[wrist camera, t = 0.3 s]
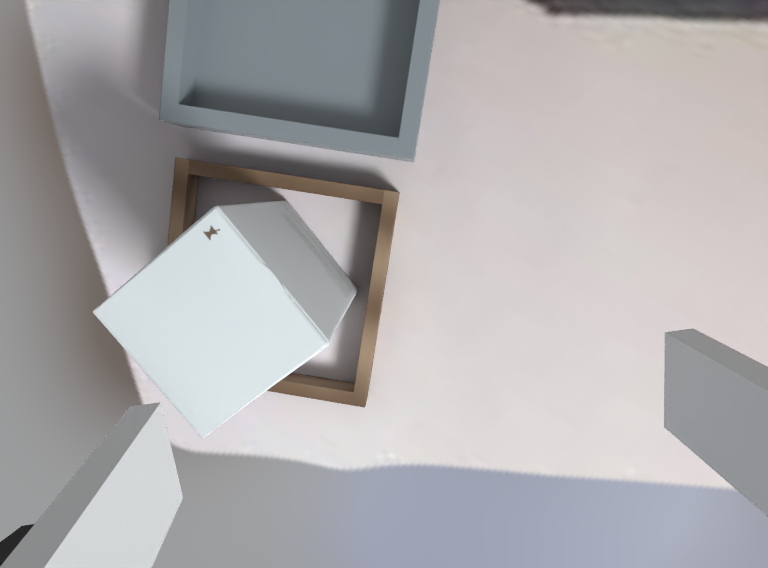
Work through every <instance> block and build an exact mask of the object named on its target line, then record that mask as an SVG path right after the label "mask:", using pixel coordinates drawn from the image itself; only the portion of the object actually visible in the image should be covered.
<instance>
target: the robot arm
mask: <svg viewBox="0 0 768 568" xmlns="http://www.w3.org/2000/svg"><path fill="white" fill-rule="evenodd" d="M664 427H665V428H666V429H667V430H668V431H669V432H671V433H672V434H673V435H674V436H675V437H676V438H677V439H679V440H680V441H681V442H682V443H683V444H684V445H686V446H687V447H688V448H689V449H690V450H691V451H693V452H694V453H695V454H696V455H697V456H698V457H699V458H701V459H702V460H703V461H704V462H705V463H706V464H708V465H709V466H710V467H711V468H712V469H713V470H714V471H716V472H717V473H718V474H719V475H720V476H721V477H723V478H724V479H725V480H726V481H727V482H728V483H730V484H731V485H732V486H733V487H734V488H735V489H736V490H738V491H739V492H740V493H741V494H742V495H744V496H745V497H746V498H747V499H748V500H749V501H750V502H752V503H753V504H754V505H755V506H756V507H757V508H758V509H760V510H761V511H762V512H763V513H764V514H766V515H767V516H768V367H767V366H765V365H763V364H761V363H759V362H757V361H755V360H753V359H751V358H749V357H747V356H745V355H744V354H742V353H740V352H738V351H736V350H734V349H732V348H730V347H728V346H726V345H724V344H722V343H720V342H718V341H716V340H714V339H712V338H710V337H709V336H707V335H705V334H703V333H701V332H699V331H697V330H695V329H686V330H679V331H672V332H665V382H664ZM182 498H183V496H182V491H181V487H180V483H179V478H178V474H177V470H176V466H175V462H174V458H173V453H172V449H171V444H170V440H169V436H168V432H167V427H166V423H165V419H164V414H163V410H162V406H161V402H160V403H153V404H146V405H139V406H132V407H129V409H128V410H127V411H126V412H125V413H124V415H123V416H122V417H121V419H120V420H119V421H118V422H117V423H116V425H115V426H114V427H113V428H112V430H111V431H110V432H109V433H108V434H107V436H106V437H105V438H104V440H103V441H102V442H101V443H100V444H99V445H98V447H97V448H96V449H95V450H94V452H93V453H92V454H91V455H90V457H89V458H88V459H87V460H86V461H85V463H84V464H83V465H82V466H81V468H80V469H79V470H78V471H77V473H76V474H75V475H74V476H73V478H72V479H71V480H70V481H69V483H68V484H67V485H66V486H65V487H64V489H63V490H62V491H61V492H60V494H59V495H58V496H57V497H56V498H55V500H54V501H53V502H52V504H51V505H50V506H49V507H48V508H47V510H46V511H45V512H44V513H43V515H42V516H41V517H40V518H39V519H38V521H37V522H36V523H35V524H32V525H25V526H21V527H20V528H19V529H17V530H16V531H15V532H14V533H12V534H11V535H9V536H8V537H7V538H5V539H4V540H3V541H1V542H0V568H151V567H152V565H153V563H154V561H155V559H156V556H157V554H158V552H159V550H160V547H161V545H162V543H163V541H164V539H165V536H166V534H167V532H168V530H169V527H170V525H171V523H172V521H173V519H174V516H175V514H176V512H177V510H178V507H179V505H180V503H181V501H182Z"/></svg>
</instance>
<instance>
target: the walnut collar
mask: <svg viewBox="0 0 768 568" xmlns="http://www.w3.org/2000/svg"><path fill="white" fill-rule="evenodd" d="M199 176H206V177H212V178H218V179H225V180H231V181H237V182H244V183H250V184H256V185H263V186H269V187H276V188H282V189H288V190H295V191H301V192H307V193H314V194H320V195H326V196H333V197H339V198H345V199H352V200H358V201H364V202H371V203H377V204H382V210H381V216H380V223H379V229H378V236H377V243H376V249H375V256H374V262H373V269H372V275H371V282H370V288H369V295H368V302H367V308H366V315H365V321H364V328H363V334H362V341H361V347H360V354H359V361H358V367H357V374H356V380H355V383H350V382H344V381H338V380H332V379H326V378H321V377H315V376H309V375H303V374H297V373H290V374H289V375H287V376H286V377H285V378H283V379H282V380H280V381H279V382H278V383H276V384H275V385H273V386H272V387H271V388H269V389H268V390H267V391H272V392H277V393H283V394H289V395H295V396H301V397H307V398H313V399H319V400H325V401H330V402H336V403H342V404H348V405H354V406H360V407H365V405H366V401H367V397H368V390H369V384H370V377H371V371H372V365H373V358H374V352H375V346H376V339H377V333H378V326H379V320H380V314H381V307H382V301H383V295H384V288H385V282H386V275H387V269H388V263H389V256H390V250H391V244H392V237H393V231H394V224H395V218H396V212H397V205H398V199H399V193H400V192H394V191H387V190H381V189H375V188H368V187H362V186H356V185H349V184H343V183H336V182H330V181H324V180H317V179H311V178H304V177H298V176H292V175H285V174H279V173H272V172H266V171H260V170H253V169H247V168H240V167H234V166H228V165H221V164H215V163H209V162H202V161H196V160H189V159H183V158H177V157H176V158H175V169H174V180H173V191H172V202H171V213H170V224H169V234H168V245H167V247H168V246H169V245H170V244H171V243H172V242H173V241H174V240H176V239H177V238H178V237H179V236H180V235H181V234H182V233H184V232H185V231H186V230H187V229H188V228H189V227H191V226H192V225H193V224H194V219H195V208H196V198H197V188H198V178H199Z"/></svg>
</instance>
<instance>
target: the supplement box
mask: <svg viewBox="0 0 768 568" xmlns="http://www.w3.org/2000/svg"><path fill="white" fill-rule="evenodd" d="M357 292H358V290H357V288H356V286H355V285H354V284H353V283H352V281H351V280H350V279H349V278H348V276H347V275H346V274H345V273H344V271H343V270H342V269H341V267H340V266H339V265H338V264H337V262H336V261H335V260H334V259H333V257H332V256H331V255H330V254H329V252H328V251H327V250H326V249H325V247H324V246H323V245H322V244H321V242H320V241H319V240H318V239H317V237H316V236H315V235H314V234H313V232H312V231H311V230H310V229H309V227H308V226H307V225H306V224H305V222H304V221H303V220H302V219H301V217H300V216H299V215H298V214H297V212H296V211H295V210H294V209H293V207H292V206H291V205H290V204H289V203H288V202H287V201H286V200H281V201H268V202H257V203H245V204H233V205H219V206H214V207H213V208H212V209H211V210H209V211H208V212H207V213H206V214H205V215H203V216H202V217H201V218H200V219H199V220H198V221H196V222H195V223H194V224H193V225H192V226H191V227H189V228H188V229H187V230H186V231H185V232H184V233H182V234H181V235H180V236H179V237H178V238H177V239H176V240H174V241H173V242H172V243H171V244H170V245H169V246H168V247H166V248H165V249H164V250H163V251H162V252H161V253H160V254H158V255H157V256H156V257H155V258H154V259H153V260H151V261H150V262H149V263H148V264H147V265H146V266H145V267H143V268H142V269H141V270H140V271H139V272H138V273H136V274H135V275H134V276H133V277H132V278H131V279H130V280H128V281H127V282H126V283H125V284H124V285H123V286H121V287H120V288H119V289H118V290H117V291H116V292H114V293H113V294H112V295H111V296H110V297H109V298H108V299H107V300H105V302H103V303H102V304H101V305H100V306H99V307H97V308H96V309H95V310H93V313H94V314H95V315H96V317H97V318H98V319H99V320H100V321H101V322H102V323H103V324H104V325H105V327H106V328H107V329H108V330H109V331H110V332H111V334H112V335H113V336H114V337H115V338H116V339H117V340H118V342H119V343H120V344H121V345H122V346H123V348H124V349H125V350H126V351H127V352H128V353H129V355H130V356H131V357H132V358H133V359H134V360H135V362H136V363H137V364H138V365H139V366H140V367H141V369H142V370H143V371H144V372H145V373H146V374H147V376H148V377H149V378H150V379H151V380H152V381H153V383H154V384H155V385H156V386H157V387H158V388H159V389H160V391H161V392H162V393H163V394H164V395H165V396H166V398H167V399H168V400H169V401H170V402H171V403H172V405H173V406H174V407H175V408H176V409H177V410H178V411H179V413H180V414H181V415H182V416H183V417H184V418H185V419H186V421H187V422H188V423H189V424H190V425H191V426H192V428H193V429H194V430H195V431H196V432H197V434H198V435H199V436H200V437H201V438H202V439H203V438H204V437H206V436H207V435H208V434H209V433H210V432H212V431H213V430H214V429H216V428H217V427H218V426H220V425H221V424H222V423H223V422H225V421H226V420H227V419H229V418H230V417H231V416H233V415H234V414H235V413H237V412H238V411H239V410H241V409H242V408H243V407H245V406H246V405H247V404H249V403H250V402H252V401H253V400H254V399H256V398H257V397H258V396H260V395H261V394H262V393H264V392H265V391H267V390H268V389H269V388H271V387H272V386H273V385H275V384H276V383H278V382H279V381H280V380H282V379H283V378H285V377H286V376H287V375H289V374H290V373H292V372H293V371H294V370H296V369H297V368H298V367H300V366H301V365H303V364H304V363H305V362H307V361H308V360H309V359H311V358H312V357H314V356H315V355H316V354H318V353H319V352H320V351H322V350H323V349H324V348H326V347H327V346H328V345H329V344H330V341H331V339H332V337H333V335H334V333H335V331H336V329H337V327H338V326H339V324H340V322H341V320H342V318H343V317H344V315H345V313H346V311H347V309H348V308H349V306H350V304H351V302H352V300H353V299H354V297H355V295H356V294H357Z"/></svg>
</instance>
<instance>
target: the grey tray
mask: <svg viewBox="0 0 768 568" xmlns="http://www.w3.org/2000/svg"><path fill="white" fill-rule="evenodd" d="M439 3H440V0H169V10H168V21H167V33H166V45H165V57H164V68H163V80H162V92H161V103H160V115H159V120H162V121H165V122H168V123H172V124H175V125H178V126H183V127H189V128H196V129H202V130H209V131H215V132H222V133H228V134H234V135H241V136H247V137H254V138H260V139H267V140H273V141H280V142H286V143H293V144H299V145H306V146H312V147H319V148H325V149H332V150H338V151H344V152H351V153H357V154H364V155H370V156H377V157H383V158H390V159H396V160H403V161H409V162H414V159H415V153H416V147H417V140H418V134H419V128H420V122H421V115H422V109H423V103H424V97H425V90H426V84H427V78H428V71H429V65H430V59H431V53H432V46H433V40H434V34H435V28H436V21H437V15H438V9H439Z"/></svg>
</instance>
